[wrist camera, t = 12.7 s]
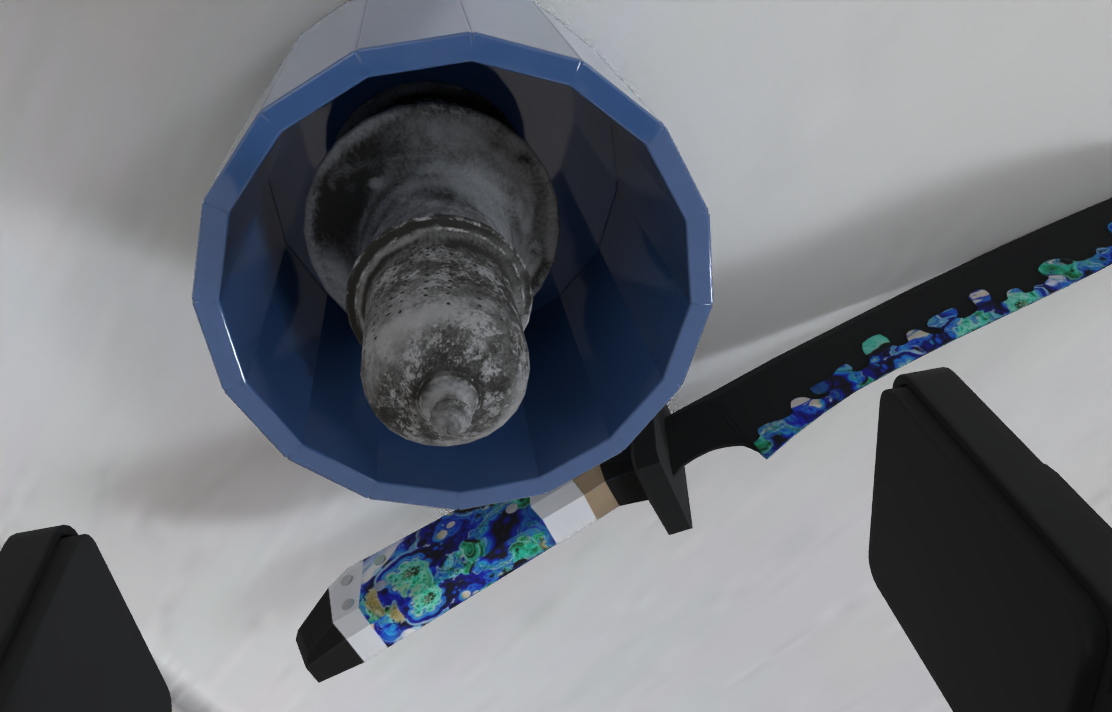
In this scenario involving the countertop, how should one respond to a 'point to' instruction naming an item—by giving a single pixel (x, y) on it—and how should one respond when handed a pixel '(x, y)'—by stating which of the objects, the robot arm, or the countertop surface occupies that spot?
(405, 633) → the knife
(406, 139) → the salt shaker
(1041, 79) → the countertop surface
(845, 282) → the countertop surface
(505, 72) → the blue cup
